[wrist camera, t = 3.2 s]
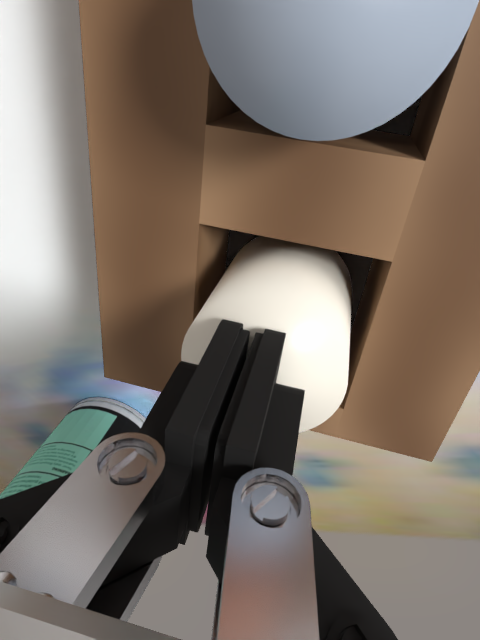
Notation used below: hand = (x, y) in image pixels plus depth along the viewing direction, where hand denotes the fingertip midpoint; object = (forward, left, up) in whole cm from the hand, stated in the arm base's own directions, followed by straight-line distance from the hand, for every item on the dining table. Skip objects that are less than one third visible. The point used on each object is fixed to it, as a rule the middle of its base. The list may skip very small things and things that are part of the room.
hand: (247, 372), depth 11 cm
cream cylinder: (0, 0, -5) cm, 5 cm away
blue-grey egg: (0, -8, -4) cm, 9 cm away
